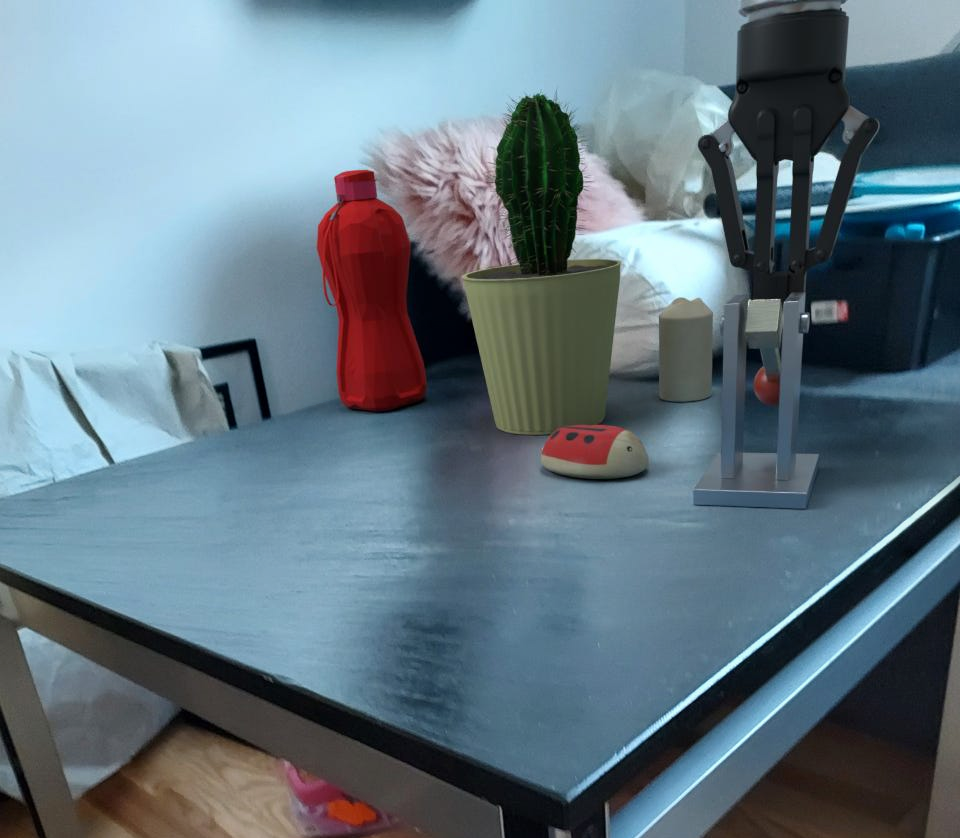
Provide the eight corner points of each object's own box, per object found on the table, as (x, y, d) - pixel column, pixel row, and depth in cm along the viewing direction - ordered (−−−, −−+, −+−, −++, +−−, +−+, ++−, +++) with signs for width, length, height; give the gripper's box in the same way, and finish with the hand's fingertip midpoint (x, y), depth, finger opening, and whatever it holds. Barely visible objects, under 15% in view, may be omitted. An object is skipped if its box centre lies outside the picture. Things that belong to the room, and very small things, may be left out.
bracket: (716, 466, 79) (720, 290, 73) (818, 468, 76) (830, 285, 70) (693, 504, 71) (694, 310, 65) (805, 509, 68) (818, 306, 62)
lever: (753, 412, 80) (758, 371, 81) (798, 412, 79) (802, 371, 79) (733, 340, 67) (739, 292, 68) (786, 339, 66) (792, 289, 66)
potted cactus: (465, 414, 104) (435, 101, 91) (601, 397, 106) (591, 87, 93) (488, 448, 90) (457, 86, 77) (644, 428, 92) (640, 69, 79)
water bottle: (318, 412, 112) (279, 177, 101) (387, 392, 119) (357, 170, 108) (370, 419, 106) (335, 171, 95) (439, 398, 113) (414, 164, 102)
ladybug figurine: (630, 486, 76) (629, 442, 74) (523, 477, 81) (520, 436, 79) (662, 463, 81) (662, 421, 79) (558, 455, 86) (556, 416, 84)
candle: (651, 395, 104) (649, 299, 100) (696, 388, 105) (697, 293, 101) (673, 404, 100) (673, 304, 95) (720, 397, 101) (723, 297, 96)
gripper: (894, 6, 67) (864, 348, 78) (708, 33, 72) (703, 351, 83) (891, -6, 61) (859, 367, 72) (689, 24, 66) (686, 369, 77)
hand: (776, 358), depth 77 cm, fingers closed
